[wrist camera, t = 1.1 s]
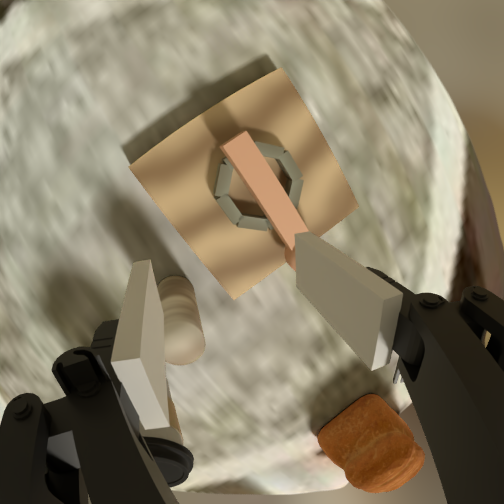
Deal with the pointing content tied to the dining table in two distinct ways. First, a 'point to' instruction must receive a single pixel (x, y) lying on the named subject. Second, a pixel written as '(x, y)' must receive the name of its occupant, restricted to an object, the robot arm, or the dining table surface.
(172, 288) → the leg peg
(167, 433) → the coffee cup
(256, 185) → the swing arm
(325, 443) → the bread
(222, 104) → the stool seat
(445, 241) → the dining table surface
